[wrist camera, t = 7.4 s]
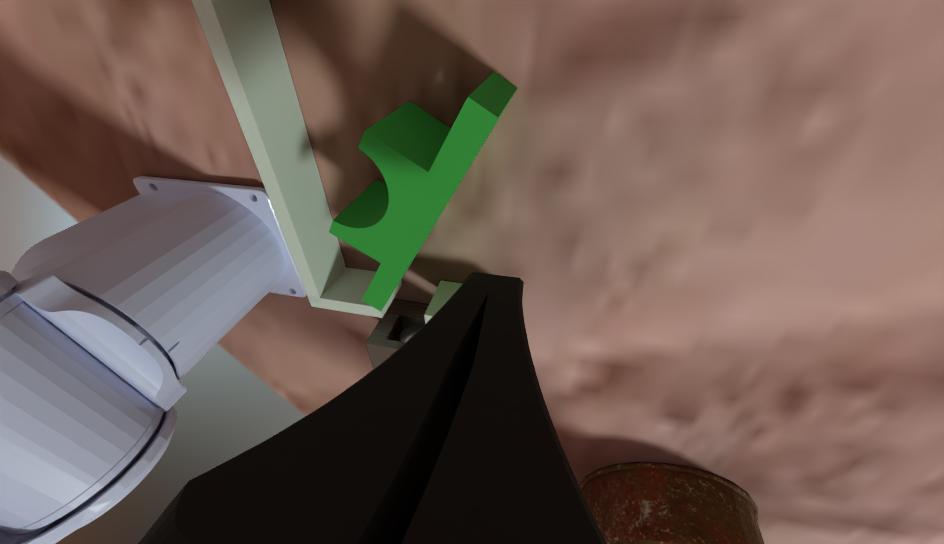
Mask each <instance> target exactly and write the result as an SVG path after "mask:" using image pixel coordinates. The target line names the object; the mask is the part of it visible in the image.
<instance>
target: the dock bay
mask: <svg viewBox="0 0 944 544" xmlns="http://www.w3.org/2000/svg"><path fill="white" fill-rule="evenodd" d="M192 3H193V5H194V8H195V10H196V13H197V16H198V18H199V21H200V23H201V26H202V28H203V31H204V33H205V36H206V39H207V41H208V44H209V46H210V49H211V51H212V54H213V56H214V59H215V61H216V64H217V67H218V69H219V72H220V74H221V77H222V79H223V82H224V84H225V87H226V90H227V92H228V95H229V97H230V100H231V102H232V105H233V107H234V110H235V112H236V115H237V118H238V120H239V123H240V125H241V128H242V130H243V133H244V135H245V138H246V141H247V143H248V146H249V148H250V151H251V153H252V156H253V158H254V161H255V164H256V166H257V169H258V171H259V174H260V176H261V179H262V181H263V184H264V186H265V189H266V192H267V194H268V197H269V199H270V202H271V204H272V207H273V209H274V212H275V215H276V217H277V220H278V222H279V225H280V227H281V230H282V232H283V235H284V237H285V240H286V243H287V245H288V248H289V250H290V253H291V255H292V258H293V260H294V263H295V266H296V268H297V271H298V273H299V276H300V278H301V281H302V283H303V286H304V288H305V291H306V294H307V296H308V299H309V301H310V304H311V306H312V307H318V308H324V309H331V310H337V311H343V312H349V313H355V314H361V315H367V316H373V317H379V318H382V317H383V316H384V314H385V312H386V311H387V309H388V307H389V306H390V304H391V302H392V301H393V299H394V298H395V296H396V294H397V293H398V291H399V289H400V288H401V286H402V281H400V282H399V284H398V285H397V287H396V289H395V290H394V292H393V293H392V295H391V297H390V298H389V300H388V301H387V303H386V305H385V306H384V308H383V309H382V311H379V310H377V309H375V308H374V307H372V306H370V305H368V304H367V303H365V302H363V301H361V300H362V298H363V297H364V295H365V293H366V291H367V289H368V287H369V285H370V283H371V281H372V279H373V277H374V276H375V274H376V272H377V271H370V270H362V269H355V268H348V267H346V266H345V262H344V259H343V255H342V252H341V248H340V245H339V241H338V238H337V237H336V236H334V235H332V234H331V233H329V230H330V227H331V224H332V217H331V214H330V210H329V207H328V203H327V200H326V196H325V193H324V189H323V186H322V182H321V179H320V175H319V172H318V168H317V165H316V161H315V158H314V154H313V151H312V147H311V144H310V141H309V137H308V134H307V130H306V127H305V123H304V120H303V116H302V113H301V109H300V106H299V102H298V99H297V95H296V92H295V88H294V85H293V81H292V78H291V74H290V71H289V68H288V64H287V61H286V57H285V54H284V50H283V47H282V43H281V40H280V36H279V33H278V29H277V26H276V22H275V19H274V15H273V12H272V8H271V5H270V1H269V0H192ZM462 284H463V283H456V282H449V281H442V280H441V281H440V283H439V285H438V287H437V289H436V292H435V294H434V296H433V298H432V300H431V302H430V304H429V306H428V308H427V310H426V312H425V314H424V316H425V324H426V323H427V322H428V321H429V320H430V319H431V318H432V317H433V316H434V315H435V314H436V313H437V311H438V310H439V309H440V308H441V307H442V306H443V305H444V304H445V303H446V302H447V301H448V300H449V299H450V298H451V296H452V295H453V294H454V293H455V292H456V291H457V290H458V289H459V287H460V286H461V285H462Z"/></svg>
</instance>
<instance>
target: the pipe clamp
mask: <svg viewBox="0 0 944 544" xmlns="http://www.w3.org/2000/svg"><path fill="white" fill-rule="evenodd" d="M516 90H517V87H515V86H514V85H513V84H511V83H510V82H508V81H507V80H505V79H504V78H503V77H501V76H500V75H498V74H497V73H496V72H493V73H492V74H491V75H490V76H489V77H488V78H487V79H486V80H485V81H484V82H483V83H482V84H481V85H480V86H479V87H478V88H476V89H475V90H474V91H473V92H472V93H471V94H470V95H469V96H468V97H467V99H466V101H465V103H464V105H463V107H462V109H461V111H460V113H459V115H458V117H457V118H456V120H455V122H454V124H453V126H452V128H449V127H448V126H446V125H445V124H443V123H442V122H440V121H439V120H437V119H436V118H434V117H433V116H431V115H430V114H428V113H427V112H425V111H424V110H422V109H421V108H419V107H418V106H416V105H415V104H413V103H412V102H410V101H409V102H407V103H405V104H404V105H402V106H401V107H399V108H398V109H396V110H395V111H393V112H392V113H390V114H389V115H387V116H386V117H384V118H383V119H381V120H380V121H378V122H377V123H375V124H374V125H372V126H371V127H369V128H367V129H366V130H364V133H363V135H362V138H361V141H360V144H359V147H358V149H360V150H361V151H363V152H364V153H365V154H366V155H367V156H368V157H369V158H370V159H371V160H372V161H373V162H374V163H375V164H376V165H377V167H378V168H379V170H380V171H381V173H382V175H383V177H384V179H385V182H386V183H383V182H381V181H379V180H376V181H374V182H373V183H372V184H371V185H370V186H369V187H368V188H367V189H366V190H365V191H364V192H363V193H362V194H360V195H359V196H358V197H357V198H356V199H355V200H354V201H353V202H352V203H351V204H350V205H349V206H348V207H347V208H345V209H344V210H343V211H342V212H341V213H340V214H339V215H338V216H337V217H336V218H335V219H334V220H333V221H332V224H331V227H330V230H329V233H331V234H332V235H334V236H336V237H338V238H339V239H341V240H343V241H344V242H346V243H348V244H349V245H351V246H353V247H354V248H356V249H358V250H360V251H361V252H363V253H365V254H366V255H368V256H370V257H371V258H373V259H375V260H376V261H378V262H380V263H381V264H380V266H379V268H378V270H377V272H376V274H375V276H374V277H373V279H372V281H371V283H370V285H369V287H368V289H367V291H366V293H365V295H364V297H363V298H362V300H361V301H363V302H365V303H367V304H368V305H370V306H372V307H374V308H375V309H377V310H379V311H382V309H383V308H384V306H385V305H386V303H387V301H388V300H389V298H390V297H391V295H392V293H393V292H394V290H395V289H396V287H397V285H398V284H399V282H400V281H401V279H402V277H403V276H404V274H405V273H406V271H407V269H408V268H409V266H410V265H411V263H412V261H413V260H414V258H415V256H416V255H417V253H418V251H419V250H420V248H421V247H422V245H423V243H424V242H425V240H426V238H427V237H428V235H429V233H430V232H431V230H432V228H433V227H434V225H435V223H436V222H437V220H438V218H439V217H440V215H441V213H442V212H443V210H444V209H445V207H446V205H447V204H448V202H449V200H450V199H451V197H452V195H453V194H454V192H455V190H456V189H457V187H458V185H459V184H460V182H461V180H462V179H463V177H464V175H465V174H466V172H467V170H468V169H469V167H470V166H471V164H472V162H473V161H474V159H475V157H476V156H477V154H478V152H479V151H480V149H481V147H482V146H483V144H484V142H485V141H486V139H487V137H488V136H489V134H490V132H491V131H492V129H493V128H494V126H495V124H496V123H497V121H498V119H499V118H500V116H501V114H502V113H503V111H504V109H505V108H506V106H507V104H508V103H509V101H510V99H511V98H512V96H513V94H514V93H515V91H516Z"/></svg>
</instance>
